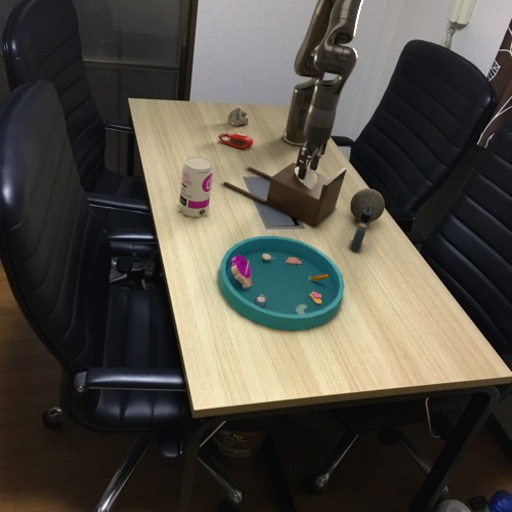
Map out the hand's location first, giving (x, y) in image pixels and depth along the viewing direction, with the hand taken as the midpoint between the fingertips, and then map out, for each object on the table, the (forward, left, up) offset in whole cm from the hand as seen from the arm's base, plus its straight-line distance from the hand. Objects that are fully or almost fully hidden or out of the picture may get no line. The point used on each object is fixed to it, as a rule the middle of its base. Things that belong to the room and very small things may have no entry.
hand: (306, 173), depth 148 cm
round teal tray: (+36, +14, -11) cm, 40 cm away
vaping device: (+7, +22, -11) cm, 26 cm away
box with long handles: (0, -7, -11) cm, 13 cm away
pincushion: (0, 0, -2) cm, 2 cm away
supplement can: (+25, -21, -11) cm, 35 cm away
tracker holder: (-20, -37, -11) cm, 43 cm away
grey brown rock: (-34, -45, -11) cm, 57 cm away
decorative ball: (-8, +18, -11) cm, 23 cm away
